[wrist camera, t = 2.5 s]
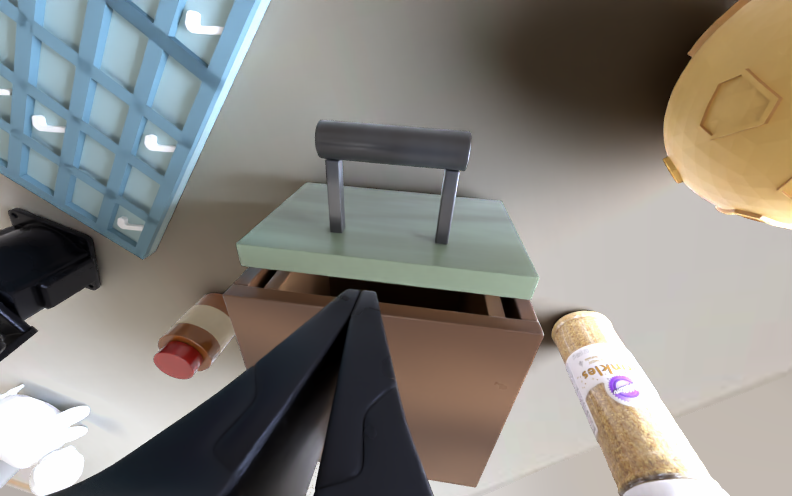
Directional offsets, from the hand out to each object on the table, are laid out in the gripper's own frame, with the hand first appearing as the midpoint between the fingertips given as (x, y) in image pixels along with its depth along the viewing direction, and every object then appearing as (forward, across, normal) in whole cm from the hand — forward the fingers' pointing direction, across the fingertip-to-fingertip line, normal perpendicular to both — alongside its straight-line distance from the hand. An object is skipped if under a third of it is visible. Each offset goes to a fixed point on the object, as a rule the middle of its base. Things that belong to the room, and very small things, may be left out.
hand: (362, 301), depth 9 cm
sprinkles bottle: (+13, -16, +12) cm, 24 cm away
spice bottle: (+13, +17, +15) cm, 26 cm away
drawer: (+12, 0, +5) cm, 13 cm away
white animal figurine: (+13, +47, +40) cm, 63 cm away
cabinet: (+13, 0, +10) cm, 17 cm away
